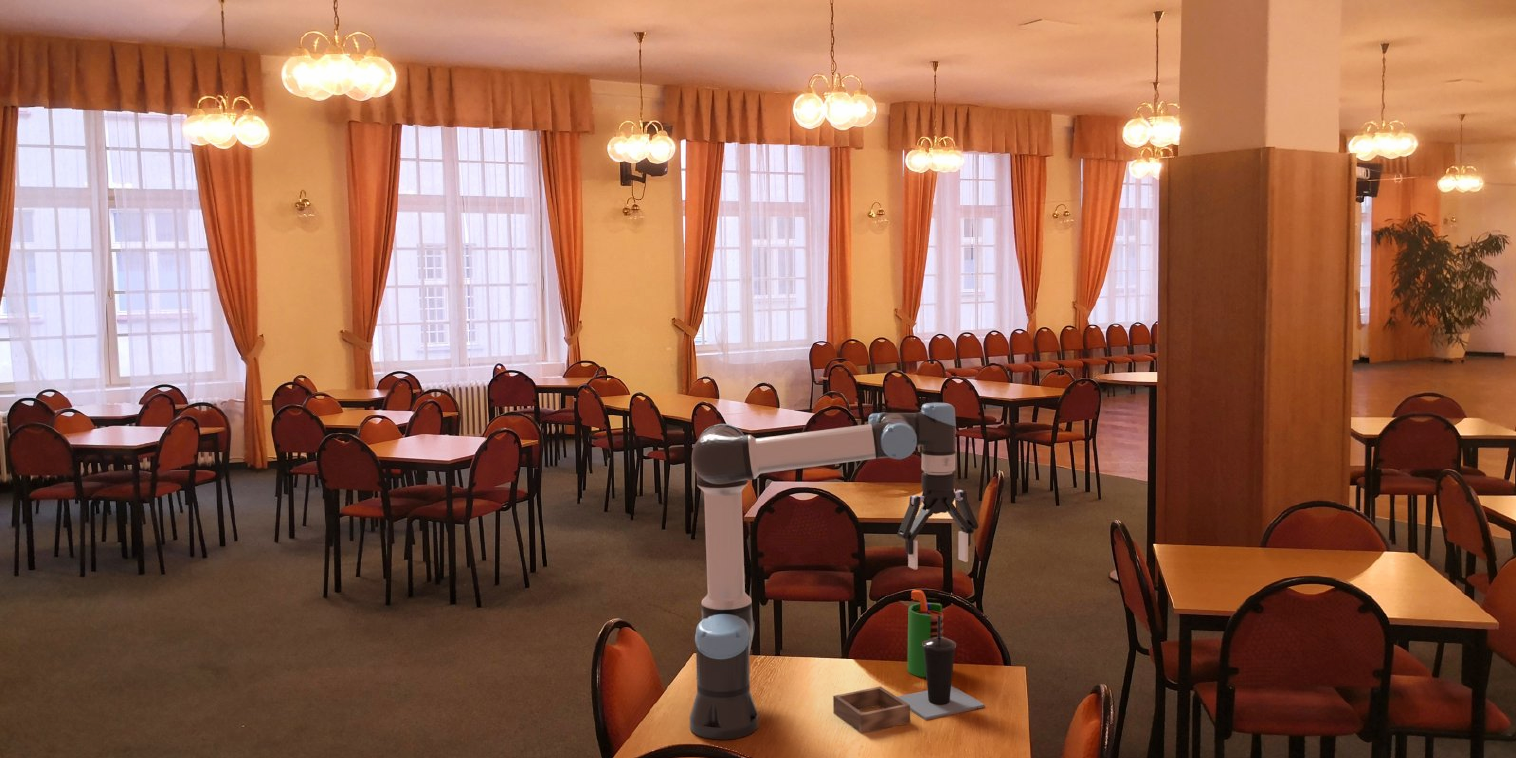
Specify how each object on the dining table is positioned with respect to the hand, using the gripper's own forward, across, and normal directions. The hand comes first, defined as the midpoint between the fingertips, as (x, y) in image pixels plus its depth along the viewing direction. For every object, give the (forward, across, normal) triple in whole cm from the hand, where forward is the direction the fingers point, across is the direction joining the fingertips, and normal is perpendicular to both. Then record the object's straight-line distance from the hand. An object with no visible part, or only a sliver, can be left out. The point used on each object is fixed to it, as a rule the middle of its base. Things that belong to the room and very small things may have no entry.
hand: (938, 564), depth 253 cm
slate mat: (+33, 0, 0) cm, 33 cm away
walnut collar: (+33, -18, 0) cm, 37 cm away
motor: (+33, +9, +19) cm, 39 cm away
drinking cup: (+32, 0, 0) cm, 32 cm away
